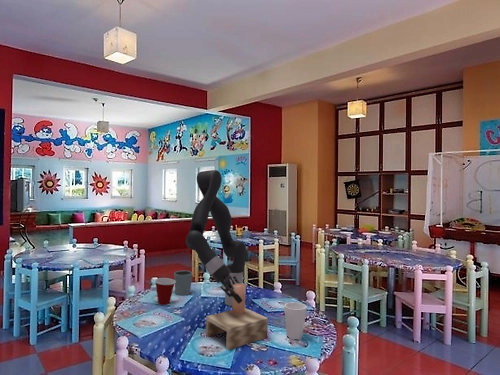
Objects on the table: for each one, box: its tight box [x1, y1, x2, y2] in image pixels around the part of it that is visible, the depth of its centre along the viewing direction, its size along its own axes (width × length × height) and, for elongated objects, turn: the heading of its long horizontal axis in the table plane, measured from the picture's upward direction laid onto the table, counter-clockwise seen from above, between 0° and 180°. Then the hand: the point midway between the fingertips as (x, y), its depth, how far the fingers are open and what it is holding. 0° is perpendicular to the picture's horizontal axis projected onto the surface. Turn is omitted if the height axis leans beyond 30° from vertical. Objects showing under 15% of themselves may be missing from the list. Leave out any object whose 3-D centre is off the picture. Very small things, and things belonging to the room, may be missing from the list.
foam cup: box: [283, 301, 308, 340], centre depth 151 cm, size 10×9×13 cm
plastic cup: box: [154, 277, 176, 306], centre depth 187 cm, size 11×11×12 cm
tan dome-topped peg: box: [231, 283, 247, 313], centre depth 152 cm, size 5×5×11 cm
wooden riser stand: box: [205, 307, 269, 351], centre depth 149 cm, size 20×16×8 cm
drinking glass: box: [173, 270, 193, 296], centre depth 204 cm, size 10×10×12 cm
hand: (242, 300), depth 152 cm, fingers closed on tan dome-topped peg, 5 cm apart
